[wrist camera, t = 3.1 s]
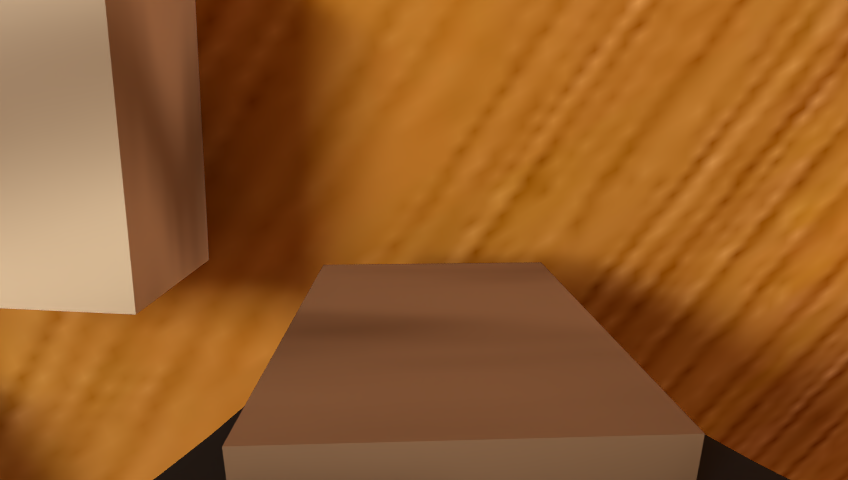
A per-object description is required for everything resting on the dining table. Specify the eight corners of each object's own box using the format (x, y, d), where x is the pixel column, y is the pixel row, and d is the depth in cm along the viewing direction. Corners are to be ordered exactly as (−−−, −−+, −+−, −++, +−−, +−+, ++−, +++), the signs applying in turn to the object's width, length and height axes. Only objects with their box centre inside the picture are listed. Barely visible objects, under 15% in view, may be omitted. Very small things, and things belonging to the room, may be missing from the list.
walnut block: (528, 446, 12) (645, 757, 6) (333, 451, 12) (264, 778, 6) (540, 262, 11) (705, 433, 5) (323, 264, 10) (221, 446, 5)
